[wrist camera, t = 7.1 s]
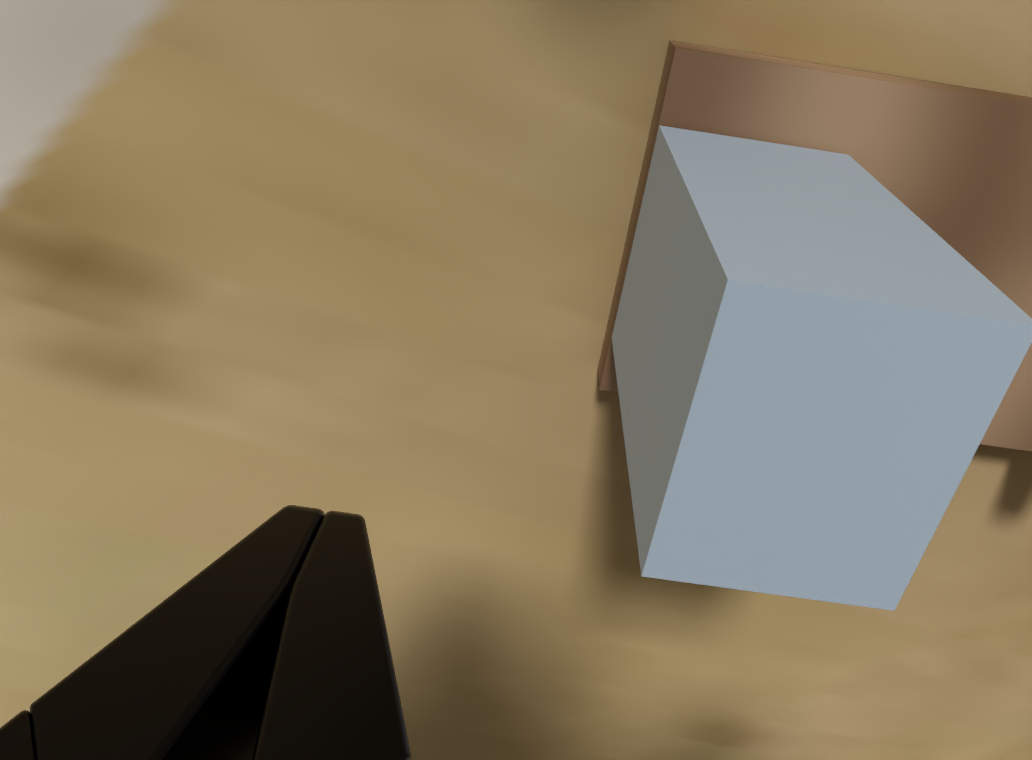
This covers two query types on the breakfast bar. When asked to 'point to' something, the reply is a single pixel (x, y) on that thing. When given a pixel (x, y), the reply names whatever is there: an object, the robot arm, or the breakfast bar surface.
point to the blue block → (798, 372)
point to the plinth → (876, 163)
